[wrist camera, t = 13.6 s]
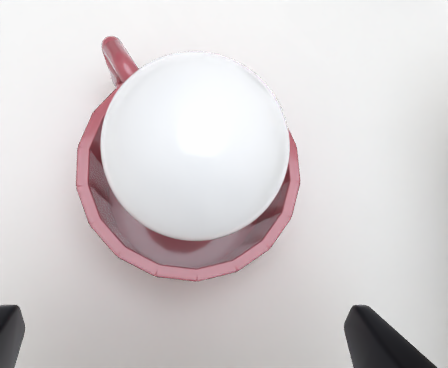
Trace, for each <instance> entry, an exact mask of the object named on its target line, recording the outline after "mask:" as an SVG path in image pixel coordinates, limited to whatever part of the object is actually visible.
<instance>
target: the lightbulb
mask: <svg viewBox="0 0 448 368" xmlns="http://www.w3.org/2000/svg"><path fill="white" fill-rule="evenodd" d="M100 151H101V160H102V166H103V170H104V173H105V176H106V179H107V182H108V184H109V186H110V188H111V190H112V192H113V194H114V196H115V197H116V199H117V200H118V202H119V203H120V204H121V206H122V207H123V208H124V209H125V210H126V211H127V212H128V213H129V214H130V215H131V216H132V217H133V218H134V219H135V220H137V221H138V222H139V223H141V224H142V225H143V226H145V227H147V228H148V229H150V230H152V231H154V232H156V233H158V234H161V235H163V236H166V237H170V238H173V239H178V240H185V241H207V240H214V239H218V238H222V237H225V236H228V235H231V234H233V233H235V232H237V231H239V230H241V229H243V228H245V227H246V226H248V225H249V224H251V223H252V222H254V221H255V220H256V219H257V218H258V217H259V216H261V215H262V214H263V213H264V212H265V210H266V209H267V208H268V207H269V206H270V204H271V203H272V202H273V200H274V199H275V197H276V196H277V194H278V192H279V190H280V188H281V186H282V184H283V181H284V178H285V175H286V172H287V167H288V162H289V153H290V140H289V131H288V126H287V122H286V119H285V116H284V113H283V110H282V108H281V106H280V104H279V102H278V100H277V98H276V97H275V95H274V93H273V92H272V91H271V89H270V88H269V87H268V85H267V84H266V83H265V82H264V81H263V80H262V79H261V78H260V77H259V76H258V75H257V74H256V73H254V72H253V71H252V70H250V69H249V68H248V67H246V66H245V65H243V64H241V63H239V62H237V61H235V60H233V59H231V58H228V57H226V56H223V55H219V54H215V53H210V52H203V51H186V52H178V53H173V54H169V55H166V56H163V57H160V58H158V59H155V60H153V61H151V62H149V63H147V64H146V65H144V66H143V67H141V68H140V69H138V70H137V71H136V72H134V73H133V74H132V75H131V76H130V77H129V78H128V79H127V80H126V81H125V82H124V83H123V84H122V85H121V87H120V88H119V89H118V91H117V92H116V94H115V95H114V97H113V99H112V100H111V102H110V104H109V107H108V109H107V112H106V114H105V117H104V121H103V125H102V130H101V139H100Z"/></svg>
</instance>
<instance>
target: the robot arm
mask: <svg viewBox="0 0 448 368" xmlns="http://www.w3.org/2000/svg"><path fill="white" fill-rule="evenodd" d="M344 331H345V336H346V340H347V344H348V347H349V351H350V355H351V359H352V363H353V367H354V368H437V367H436V366H435V365H434V364H433V363H431V362H430V361H429V360H428V359H427V358H426V357H425V356H424V355H423V354H421V353H420V352H419V351H418V350H417V349H416V348H415V347H414V346H413V345H411V344H410V343H409V342H408V341H407V340H406V339H405V338H404V337H402V336H401V335H400V334H399V333H398V332H397V331H396V330H395V329H394V328H392V327H391V326H390V325H389V324H388V323H387V322H386V321H385V320H384V319H382V318H381V317H380V316H379V315H378V314H377V313H376V312H375V311H373V310H372V309H371V308H370V307H369V306H366V305H354V306H352V308H351V310H350V312H349V314H348V316H347V318H346V320H345V323H344ZM24 332H25V324H24V321H23V317H22V314H21V310H20V308H19V306H17V305H1V306H0V368H14V367H15V363H16V360H17V357H18V353H19V350H20V347H21V343H22V340H23V337H24Z"/></svg>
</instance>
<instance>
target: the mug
mask: <svg viewBox="0 0 448 368" xmlns="http://www.w3.org/2000/svg"><path fill="white" fill-rule="evenodd" d="M102 51H103V54H104V57H105V60H106V63H107V66H108V69H109V72H110V75H111V78H112V81H113V83H114V85H115V87H116V89H115V90H114V91H113V92H112V93H111V94H110V95H109V96H108V97H107V98H106V99H105V100H104V101H103V102H102V103H101V104H100V105H99V107H98V108H97V109H96V110H95V111H94V113H92V116H91V118H90V120H89V122H88V125H87V127H86V129H85V131H84V134H83V136H82V138H81V140H80V143H79V145H78V148H77V171H76V186H77V187H76V189H77V192H78V194H79V197H80V200H81V203H82V206H83V208H84V211H85V214H86V217H87V220H88V223H89V224H90V226H91V228H92V229H93V230H94V231H95V232H96V233H97V234H98V236H99V237H100V238H101V239H102V240H103V241H104V242H105V244H106V245H107V246H108V247H109V248H110V249H111V250H112V252H113V253H114V254H115V255H116V256H118V258H120V259H122V260H124V261H126V262H128V263H130V264H132V265H134V266H136V267H137V268H139V269H141V270H143V271H145V272H147V273H149V274H151V275H153V276H156V277H162V278H170V279H179V280H187V281H202V280H206V279H210V278H214V277H218V276H222V275H226V274H230V273H234V272H237V271H239V270H240V269H242V268H243V267H245V266H246V265H248V264H249V263H251V262H252V261H253V260H255V259H256V258H258V257H259V256H261V255H262V254H264V253H265V252H266V251H268V250H269V249H270V248H271V247H272V245H273V244H274V242H275V241H276V240H277V238H278V237H279V235H280V234H281V232H282V231H283V229H284V228H285V226H286V225H287V224H288V222H289V221H290V219H291V217H292V214H293V210H294V206H295V202H296V198H297V194H298V190H299V186H300V174H299V164H298V155H297V147H296V144H295V142H294V140H293V138H292V135H291V133H290V131H289V129H288V131H289V140H290V153H289V162H288V167H287V172H286V175H285V178H284V181H283V184H282V186H281V188H280V190H279V192H278V194H277V196H276V197H275V199H274V200H273V202H272V203H271V204H270V206H269V207H268V208H267V209H266V210H265V212H264V213H263V214H262V215H261V216H259V217H258V218H257V219H256V220H255V221H254V222H252V223H251V224H249V225H248V226H246V227H245V228H243V229H241V230H239V231H237V232H235V233H233V234H231V235H228V236H225V237H222V238H218V239H214V240H207V241H185V240H178V239H173V238H170V237H166V236H163V235H161V234H158V233H156V232H154V231H152V230H150V229H148V228H147V227H145V226H143V225H142V224H141V223H139V222H138V221H137V220H135V219H134V218H133V217H132V216H131V215H130V214H129V213H128V212H127V211H126V210H125V209H124V208H123V207H122V206H121V204H120V203H119V202H118V200H117V199H116V197H115V196H114V194H113V192H112V190H111V188H110V186H109V184H108V182H107V179H106V176H105V173H104V170H103V166H102V160H101V151H100V139H101V130H102V125H103V121H104V117H105V114H106V112H107V109H108V107H109V104H110V102H111V100H112V99H113V97H114V95H115V94H116V92H117V91H118V89H119V88H120V87H121V85H122V84H123V83H124V82H125V81H126V80H127V79H128V78H129V77H130V76H131V75H132V74H133V73H134V72H136V71H137V70H138V67H137V66H136V64H135V63H134V61H133V60H132V58H131V56H130V55H129V53H128V52H127V50H126V49H125V47H124V46H123V44H122V42H121V41H120V40H119V39H118V38H116V37H114V36H108V37H106V38H105V39H104V40H103V41H102Z"/></svg>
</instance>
